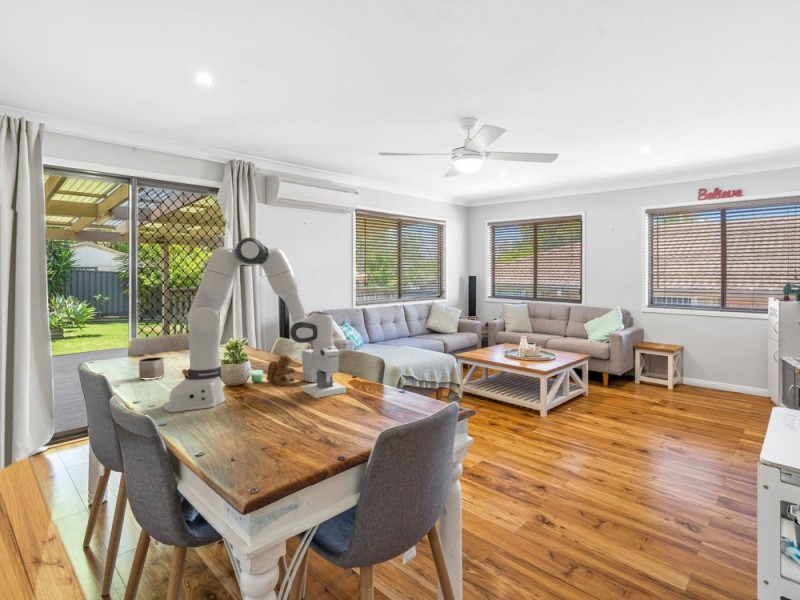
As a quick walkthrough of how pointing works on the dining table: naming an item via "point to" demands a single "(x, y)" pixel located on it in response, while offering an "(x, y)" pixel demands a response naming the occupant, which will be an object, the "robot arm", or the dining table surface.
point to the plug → (323, 379)
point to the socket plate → (324, 390)
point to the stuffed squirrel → (280, 371)
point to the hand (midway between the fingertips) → (324, 380)
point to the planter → (151, 367)
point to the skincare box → (308, 367)
